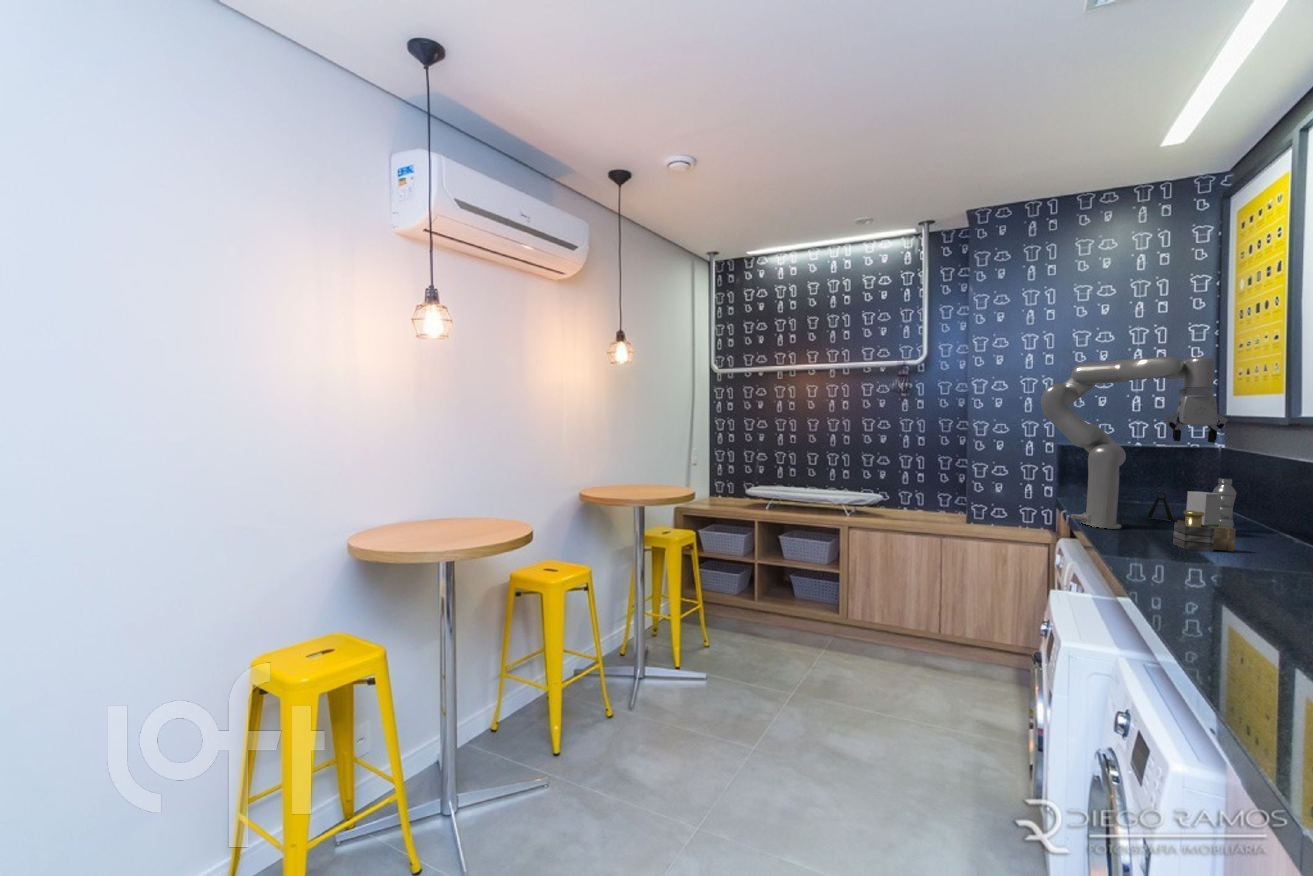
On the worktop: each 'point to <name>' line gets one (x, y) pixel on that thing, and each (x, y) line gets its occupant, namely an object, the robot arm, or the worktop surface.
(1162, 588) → the worktop surface
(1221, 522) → the plastic bottle
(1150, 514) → the black a-shaped stand
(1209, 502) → the skincare box
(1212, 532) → the slatted wooden box
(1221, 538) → the wooden crate
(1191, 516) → the brass hinge pin
